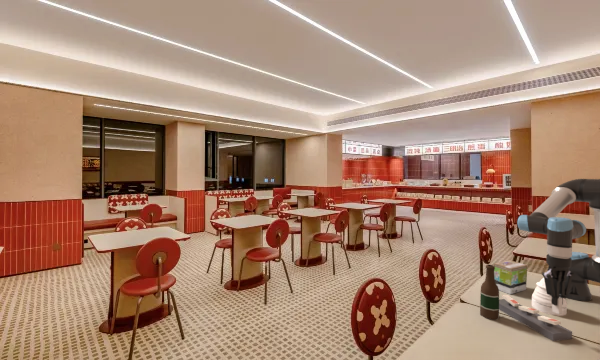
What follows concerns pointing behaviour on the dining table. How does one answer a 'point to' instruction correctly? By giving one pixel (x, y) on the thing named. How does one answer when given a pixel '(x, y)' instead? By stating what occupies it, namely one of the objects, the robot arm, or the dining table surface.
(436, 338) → the dining table surface
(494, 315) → the beer bottle
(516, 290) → the tea box
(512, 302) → the rocker
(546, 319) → the end rocker
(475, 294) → the dining table surface
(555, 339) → the power strip
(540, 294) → the honey pot
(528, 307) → the middle rocker
